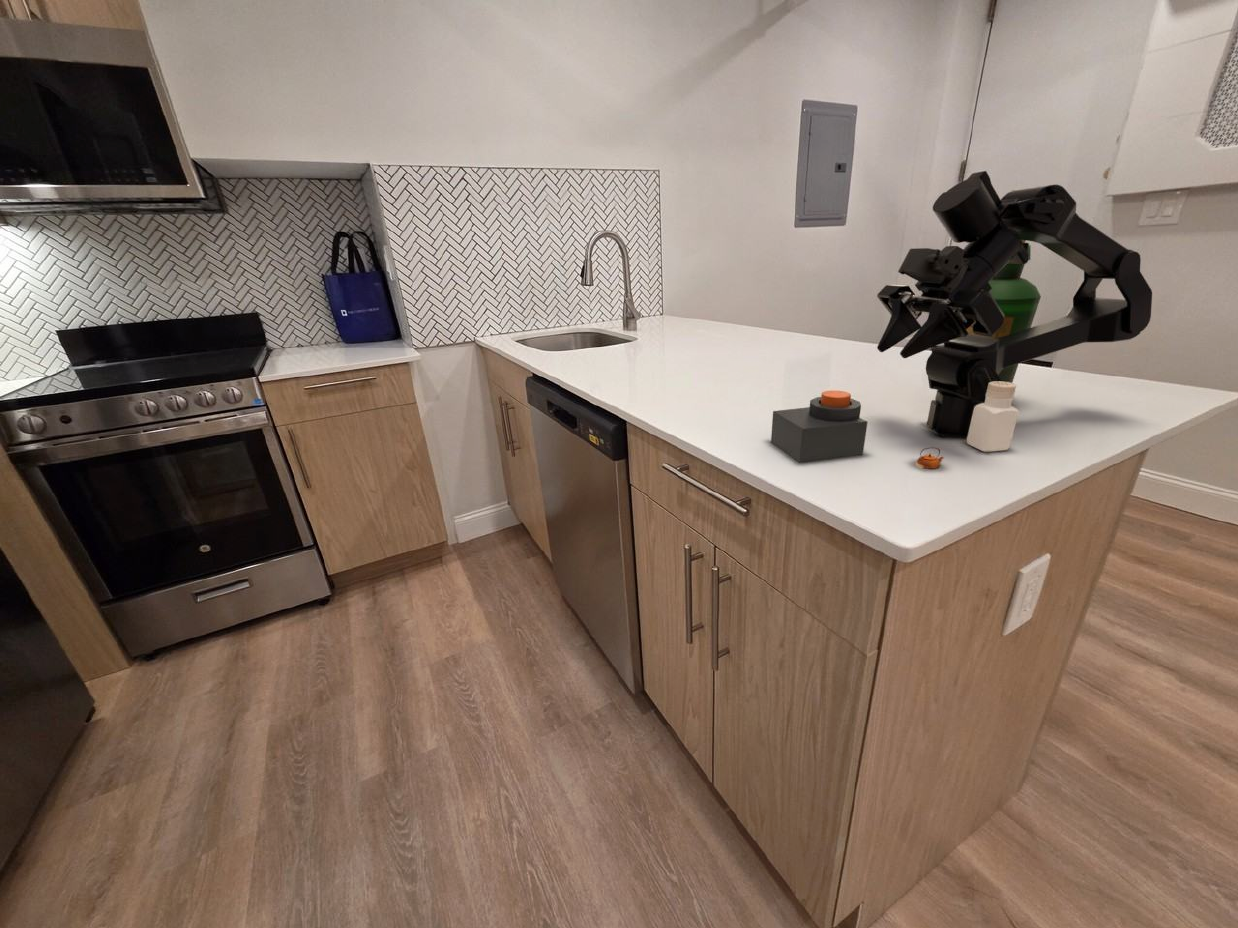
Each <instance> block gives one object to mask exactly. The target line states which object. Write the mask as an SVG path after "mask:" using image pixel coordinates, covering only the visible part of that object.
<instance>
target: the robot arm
mask: <svg viewBox="0 0 1238 928" xmlns="http://www.w3.org/2000/svg"><path fill="white" fill-rule="evenodd" d="M932 211H933V213H934V215H935V216H936V217H937V219H938V220H939V222H940V223H941V226H942V227H943V229H944V230H945V232H946V233H947V235H948V236H949V238H950V239H951V241H952V242H953V243H957V244H959V243H966V245H965V246H964V247H963V248H962V247H960V246H958V245H946V246H945V247H943V248H942V249H939V248H936V249H935V248H930V247H922V248H919V247H917V248H909V250H908V252H907V254H906V256H905V258H904V259H903V261H902V262H901V265H900V267H899V268H898V270H897V272H898V273H899V274H900V275H906V276H908V277H909V278H912V279H913V280H915V281H917V282H916V283H915V284H914V286H915V287H916V289H917V290H918V292H919V291H920V292H921V294H920V295H916V294H915V292H914V291H913V289H912V288H911V286H910V285H903V284H886V285H885V286H884V287H883V288H882V289H880V290H879V292H878V293H877V294H876V297H877V299H878V300H879V301H880V302H881V304H882V305H883V306H884V308H885V309H886V310H887V311H888V313H889V314H890V318H889V320H888V323H887V326H886V328H885V330H884V332H883V334H882V336H881V338H880V340H879V343H878V345H877V348H876V349H877V351H878V352H880V353H884V352H885V351H888V350H889V349H891V348H892V347H894V346H896V345H897V344H898V343H900V342H902V341H904V340H905V339H906V338H908V337H909V336H911V335H913V334H914V333H915V334H914V335H913V336H912V337H911V338H910V339H909V340H908V342H907V343H906V344H905V345H904V347H903V348H902V349H901V350H900V352H899V355H900V356H901V358H903V359H908V358H910V357H912V356H915V355H916V354H917V355H918V354H920V353H923V352H925V351H927V350H929V349H932V348H933V349H932V350H931V353H930V355H929V356H928V358H927V360H926V363H925V373H926V375H927V379H928V380H927V381H928V387H929V389H931V390H936V393H935V398H934V399H932V400H931V401H930V406H929V411H928V415H927V421H926V425H927V426H928V427H929V428H930V430H931V431H932V432H933V433H934V434H935V435H936V436H937V437H944V438H945V437H949V438H950V437H951V438H967V437H968V432H969V428H970V424H971V419H972V415H973V411H974V407H975V406H976V405H978V404H981V403H985V399H986V396H985V395H986V392H987V388H988V384H989V382H993V381H1002V380H1001V378H1000V377H999V373H1000V372H1001V370H1002V369H1004V368H1006V367H1009V366H1013V365H1016V364H1018V365H1020V364H1021V363H1025V362H1027V361H1031V360H1034V359H1037V358H1040V357H1044V356H1047V355H1049V354H1053V353H1057V352H1059V351H1062V350H1065V349H1069V348H1072V347H1074V346H1078V345H1081V344H1085V343H1114V342H1115V343H1116V342H1124V341H1130V340H1132V339H1135V338H1137V337H1138V336H1139V335H1140V334H1141V332H1143V331H1144V330H1145V329H1146V328H1147V327H1148V326H1149V323H1150V322H1151V318H1152V305H1153V304H1152V303H1153V290H1152V288H1151V287H1150V285H1149V284H1148V282H1147V281H1146V279H1145V277H1144V275H1143V274H1142V272H1141V259H1142V258H1141V255H1140V253H1139V252H1138V251H1135V250H1133V249H1129V248H1127V247H1125V246H1123V245H1122V244H1121V243H1120V242H1117V241H1116V239H1113V238H1112V237H1110V236H1109V235H1108V234H1106V233H1104V232H1103V231H1101V230H1100V229H1098V228H1097V227H1096V226H1094V225H1092V224H1091V223H1090V222H1088V221H1086V220H1085V219H1083V218H1082V217H1080V215H1079V214H1078V213H1077V212H1076V211H1077V202H1076V200H1075V199H1074V198H1073V196H1072V195H1071V194H1070V192H1069V191H1067V190H1066V188H1065V187H1064V186H1062V185H1061V184H1050V185H1049V184H1047V185H1041V186H1034V187H1025V188H1019V189H1012V190H1010V191H1009V192H1007V193H1006V194H1005V195H1003V197H1001V198H1000V196H999V194H998V193H997V191H996V190H995V188H994V186H993V184H992V181H991V178H990V176H989V173H988V172H987V170H983V171H978V172H972V173H971V174H970V175H969V177H968V178H966V179H964V180H962V181H960V182H958V183H957V184H955V185H953V186H952V187H950V188H949V189H947V190H946V191H944V192H942V193H941V194H940V195H939V196H938V197H937V199H936V200H935V201H934V203H933V205H932ZM1021 240H1026V241H1028V242H1025V243H1022V241H1021ZM1030 242H1033V243H1036V244H1040V245H1041V246H1043V247H1045V248H1046V249H1048V250H1049V251H1052V252H1053V253H1054V254H1056V255H1057V256H1059V257H1060V258H1062V259H1064V260H1066V261H1067V262H1069V264H1072V265H1074V266H1076V268H1078V269H1079V270H1081V271H1083V281H1082V282H1081V284H1080V285H1079V287H1078V289H1077V290H1076V292H1075V294H1074V296H1073V298H1072V307H1071V308H1070V309H1069V310H1068V312H1067V314H1066V315H1065V316H1064V317H1061V318H1058V319H1055V320H1051V321H1048V322H1045V323H1041V324H1037V325H1034V326H1031V328H1029V329H1025V330H1022V331H1019V332H1016V333H1013V334H1009V335H1006V336H1003V337H1000V338H997V339H996V338H990V337H991V336H992V335H993V334H994V333H995V332H996V331H997V330H998V329H999V328H1000V327H1001V326H1002V325H1003V322H1004V317H1005V315H1004V313H1003V312H1002V310H1001V309H1000V307H999V306H998V304H997V303H996V301H995V300H994V298H993V296H992V295H991V293H990V292H989V291H990V290H991V289H992V287H991V286H990V284H989V282H990V281H991V280H992V278H993V277H994V276H995V275H996V274H997V273H998V272H999V271H1000V270H1001V269H1002V268H1003V267H1004V266H1005V265H1006V264H1025V265H1026V264H1028V262H1029V260H1028V258H1029V253H1028V246H1029V245H1030ZM1105 279H1106V280H1114V283H1115V285H1116V287H1117V289H1118V291H1119V292H1120V294H1121V295H1122V297H1123V298H1124V299H1123V298H1122V299H1121V298H1108V297H1107V298H1105V297H1097V289H1098V287H1099V286H1100V284H1101V282H1102V281H1103V280H1105ZM923 313H924V314H927V315H928V317H927V319H926V321H925V322H924V323H923V324H922V325H921V324H920V323H919V321H918V318H920V317H921V315H923ZM973 323H975V324H974V325H973V332H974V333H975V334H978V335H984V336H990V337H984V336H978V335H972V334H968V332H967V329H968V328H969V327H970V326H971V325H972V324H973ZM934 347H935V348H934Z"/></svg>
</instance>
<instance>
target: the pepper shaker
mask: <svg viewBox="0 0 1238 928" xmlns="http://www.w3.org/2000/svg"><path fill="white" fill-rule="evenodd" d="M1016 388H1017V384H1016V383H1014V382H1012V383H1010V382H1003V381H993V382H989V384H988V388H987V392H986V395H985V396H986V399H985V403H981V404H978V405H976V406H975V407H974V411H973V415H972V419H971V424H970V428H969V432H968V437H966V443H967V445H969V446H971V447H974V448H975V449H978V450H980V451H982V452H984V453H987V452H998V451H1007V450H1009V448H1010V446H1011V443H1012V438H1013V436H1014V432H1015V427H1016V424H1017V420H1018V417H1019V409H1017V408H1016V407H1015V406H1013V405H1012V402H1013V399H1014V397H1015V393H1016Z"/></svg>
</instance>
